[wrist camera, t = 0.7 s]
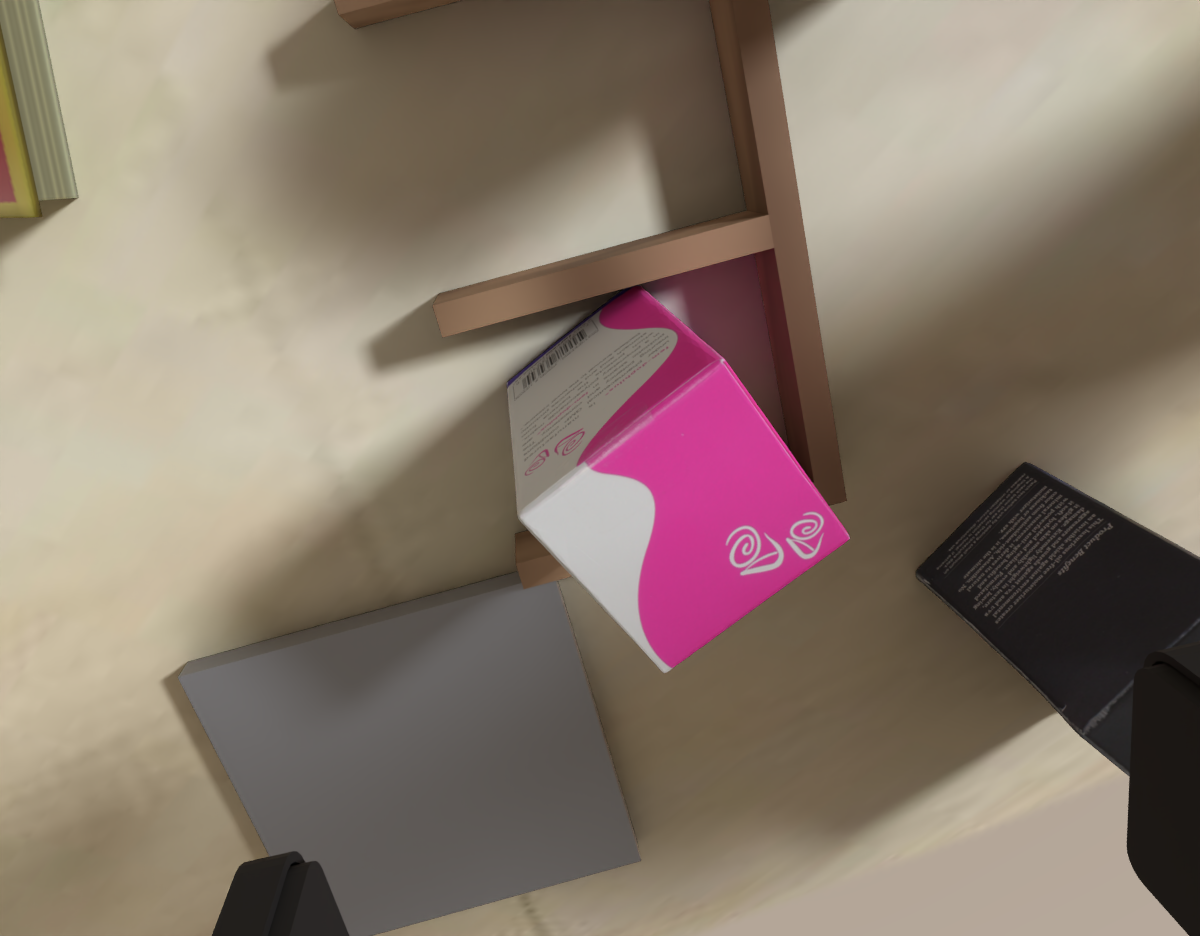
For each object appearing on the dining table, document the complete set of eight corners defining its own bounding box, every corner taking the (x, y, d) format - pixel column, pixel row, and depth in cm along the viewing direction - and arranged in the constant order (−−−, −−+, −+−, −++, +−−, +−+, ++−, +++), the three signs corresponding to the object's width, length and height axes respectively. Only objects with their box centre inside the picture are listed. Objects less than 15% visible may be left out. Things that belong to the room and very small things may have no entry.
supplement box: (606, 504, 31) (659, 686, 20) (502, 382, 29) (500, 510, 18) (734, 408, 30) (860, 543, 19) (636, 275, 28) (716, 345, 18)
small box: (1186, 598, 35) (1450, 767, 25) (1069, 706, 36) (1276, 906, 27) (1029, 450, 32) (1260, 576, 22) (907, 574, 33) (1074, 745, 23)
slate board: (552, 561, 31) (553, 574, 31) (637, 843, 36) (641, 860, 35) (187, 662, 31) (177, 677, 30) (322, 930, 36) (318, 950, 35)
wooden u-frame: (723, -111, 25) (746, -139, 22) (821, 475, 31) (846, 500, 29) (342, -9, 25) (325, -28, 22) (522, 557, 31) (523, 589, 29)
